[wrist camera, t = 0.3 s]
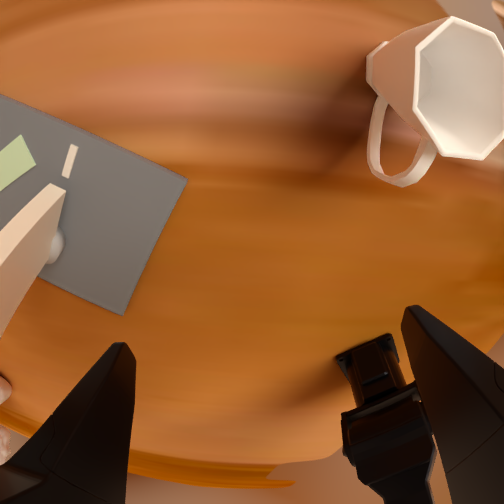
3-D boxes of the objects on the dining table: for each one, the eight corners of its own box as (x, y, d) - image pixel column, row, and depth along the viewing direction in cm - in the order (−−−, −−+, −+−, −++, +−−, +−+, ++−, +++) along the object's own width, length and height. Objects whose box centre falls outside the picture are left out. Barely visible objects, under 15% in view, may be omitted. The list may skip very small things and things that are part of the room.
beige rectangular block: (80, 188, 19) (4, 282, 11) (62, 257, 22) (8, 353, 14) (48, 173, 18) (-38, 256, 10) (35, 243, 21) (-26, 333, 13)
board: (188, 179, 20) (186, 183, 19) (124, 311, 27) (122, 317, 26) (-15, 88, 14) (-21, 90, 13) (-32, 231, 21) (-36, 235, 20)
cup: (449, 57, 15) (533, 76, 9) (395, 174, 21) (457, 234, 14) (367, 3, 14) (441, -16, 7) (308, 135, 19) (351, 184, 12)
